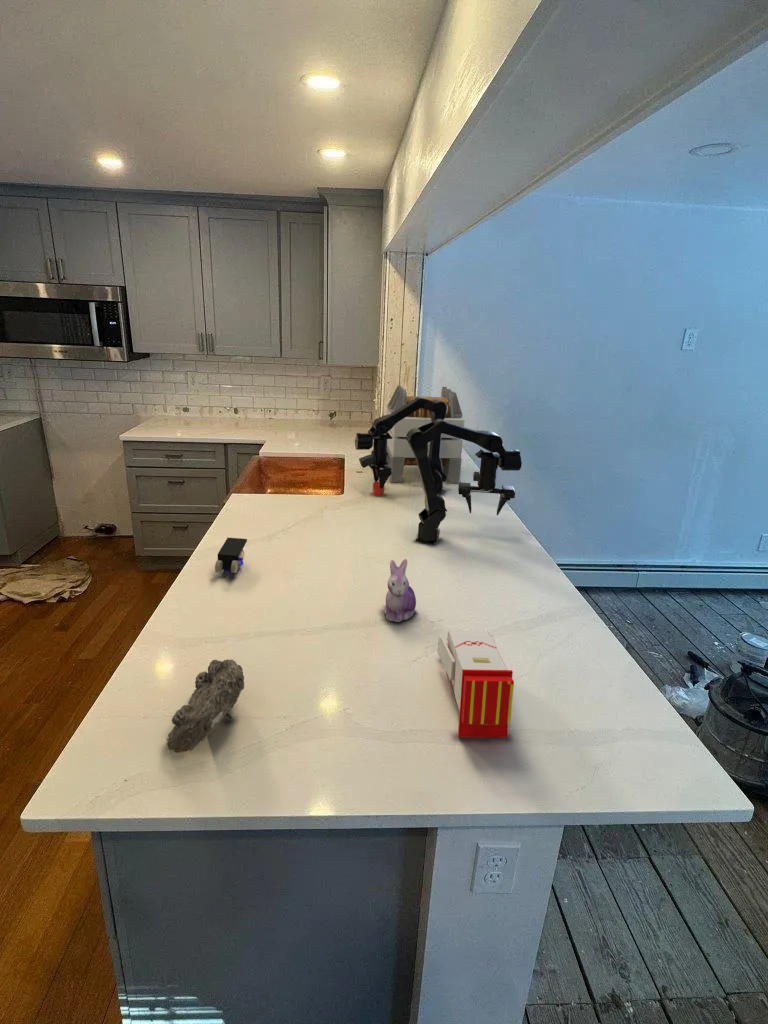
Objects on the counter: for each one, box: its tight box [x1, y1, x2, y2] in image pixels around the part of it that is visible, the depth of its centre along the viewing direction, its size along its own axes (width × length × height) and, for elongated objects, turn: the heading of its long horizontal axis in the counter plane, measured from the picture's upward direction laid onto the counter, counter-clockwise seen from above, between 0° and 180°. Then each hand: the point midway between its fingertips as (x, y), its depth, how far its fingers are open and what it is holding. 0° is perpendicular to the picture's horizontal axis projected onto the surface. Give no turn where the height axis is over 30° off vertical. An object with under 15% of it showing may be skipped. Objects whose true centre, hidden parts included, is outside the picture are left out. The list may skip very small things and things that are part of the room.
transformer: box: [384, 384, 465, 484], centre depth 268 cm, size 34×33×41 cm
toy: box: [437, 628, 515, 738], centre depth 117 cm, size 12×13×30 cm
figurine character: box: [214, 537, 248, 578], centre depth 166 cm, size 7×8×15 cm
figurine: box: [384, 558, 417, 623], centre depth 145 cm, size 9×10×15 cm
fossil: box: [166, 658, 245, 754], centre depth 106 cm, size 22×10×15 cm
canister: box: [372, 481, 386, 497], centre depth 240 cm, size 5×5×5 cm
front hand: (483, 513), depth 195 cm, fingers open, 9 cm apart
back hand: (378, 485), depth 240 cm, fingers open, 9 cm apart
